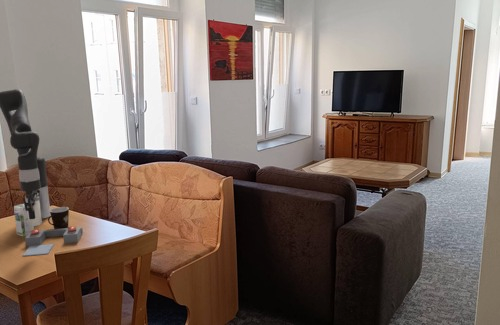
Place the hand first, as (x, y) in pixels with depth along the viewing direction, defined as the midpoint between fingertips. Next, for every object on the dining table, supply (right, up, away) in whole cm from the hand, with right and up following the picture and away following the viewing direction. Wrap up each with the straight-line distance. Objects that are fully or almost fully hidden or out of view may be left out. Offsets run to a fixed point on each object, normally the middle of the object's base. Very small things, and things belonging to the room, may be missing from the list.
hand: (34, 216), depth 169 cm
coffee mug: (-3, -10, +28) cm, 30 cm away
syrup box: (-16, -12, +22) cm, 30 cm away
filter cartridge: (0, -3, +1) cm, 3 cm away
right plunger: (+10, -11, +15) cm, 21 cm away
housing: (+2, -13, +15) cm, 20 cm away
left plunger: (-6, -11, +12) cm, 17 cm away
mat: (0, -15, +3) cm, 16 cm away
